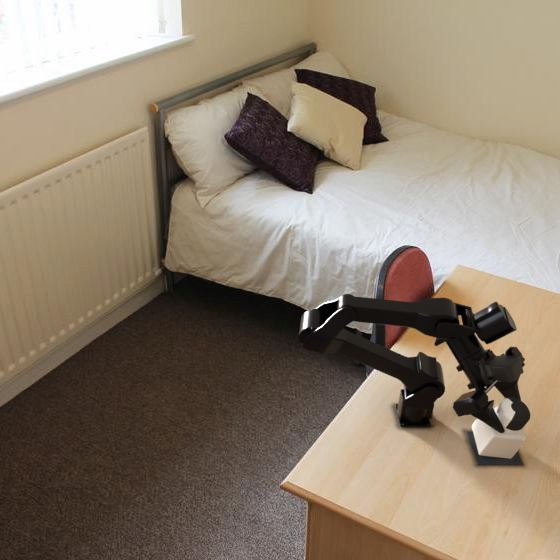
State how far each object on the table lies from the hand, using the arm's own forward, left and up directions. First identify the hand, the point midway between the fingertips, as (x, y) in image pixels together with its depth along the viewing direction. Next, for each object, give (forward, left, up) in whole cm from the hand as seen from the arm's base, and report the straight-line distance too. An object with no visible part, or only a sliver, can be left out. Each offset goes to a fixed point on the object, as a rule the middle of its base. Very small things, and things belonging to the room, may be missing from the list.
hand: (512, 421), depth 139 cm
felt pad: (-1, +1, -9) cm, 9 cm away
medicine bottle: (-2, +2, -7) cm, 8 cm away
